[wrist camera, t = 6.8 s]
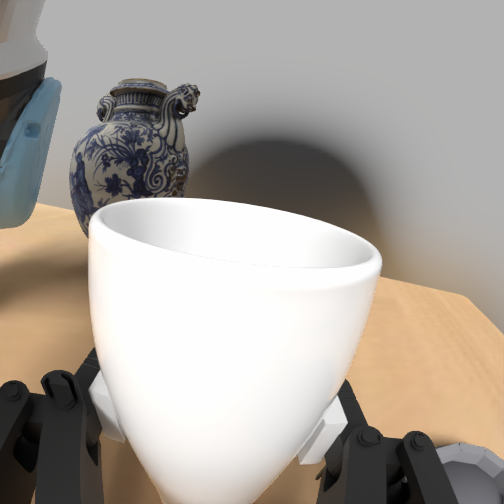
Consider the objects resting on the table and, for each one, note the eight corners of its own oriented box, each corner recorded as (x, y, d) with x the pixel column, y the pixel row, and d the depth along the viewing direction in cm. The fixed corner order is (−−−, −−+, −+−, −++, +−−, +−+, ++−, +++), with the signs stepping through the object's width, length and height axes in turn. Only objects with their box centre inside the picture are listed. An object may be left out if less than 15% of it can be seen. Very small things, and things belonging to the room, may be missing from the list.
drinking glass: (276, 467, 13) (366, 228, 9) (245, 553, 6) (439, 323, 2) (177, 434, 14) (185, 192, 10) (125, 505, 8) (24, 214, 4)
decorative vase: (206, 263, 46) (231, 96, 38) (130, 305, 29) (157, 53, 21) (120, 236, 52) (135, 101, 44) (46, 257, 35) (59, 85, 27)
